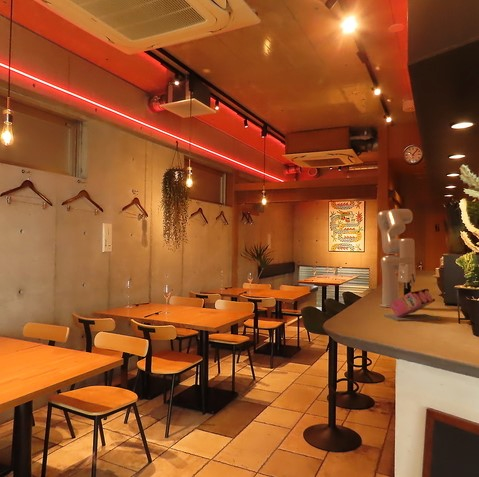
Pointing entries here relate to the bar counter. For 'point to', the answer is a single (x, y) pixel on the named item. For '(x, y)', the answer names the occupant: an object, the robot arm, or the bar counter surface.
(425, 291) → the gum box
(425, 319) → the mat
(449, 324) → the bar counter surface
